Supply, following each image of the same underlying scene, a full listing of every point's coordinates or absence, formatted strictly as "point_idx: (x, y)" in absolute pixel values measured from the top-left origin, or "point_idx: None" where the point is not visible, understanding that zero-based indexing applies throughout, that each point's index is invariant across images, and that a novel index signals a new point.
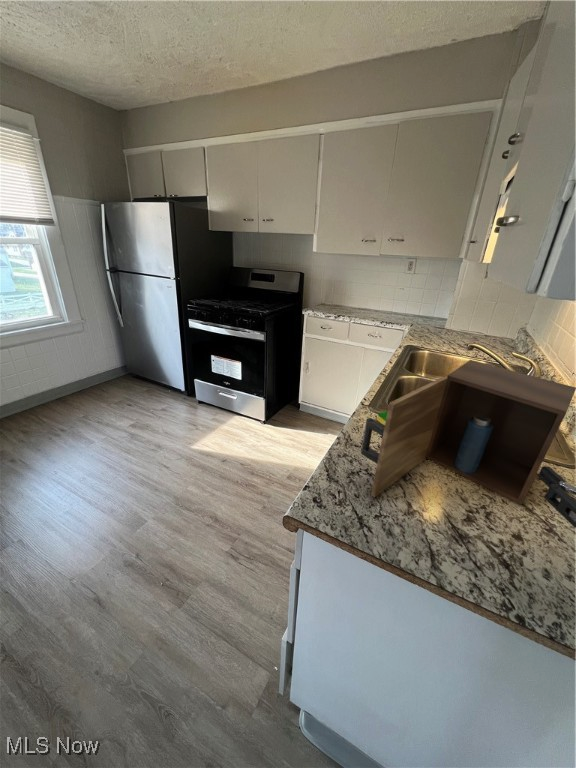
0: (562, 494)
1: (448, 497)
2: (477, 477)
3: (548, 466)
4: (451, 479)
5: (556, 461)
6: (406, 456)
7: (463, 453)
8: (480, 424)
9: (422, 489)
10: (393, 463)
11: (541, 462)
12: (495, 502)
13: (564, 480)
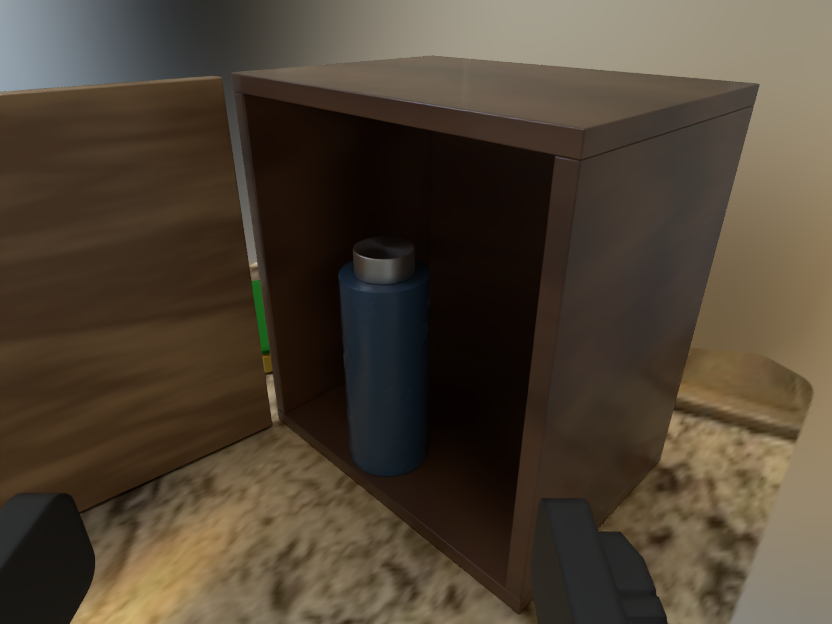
0: None
1: (224, 585)
2: (403, 491)
3: (45, 497)
4: (307, 501)
5: (758, 418)
6: (80, 418)
7: (347, 399)
8: (364, 274)
9: (147, 550)
10: None
11: (542, 431)
12: (413, 604)
13: None
